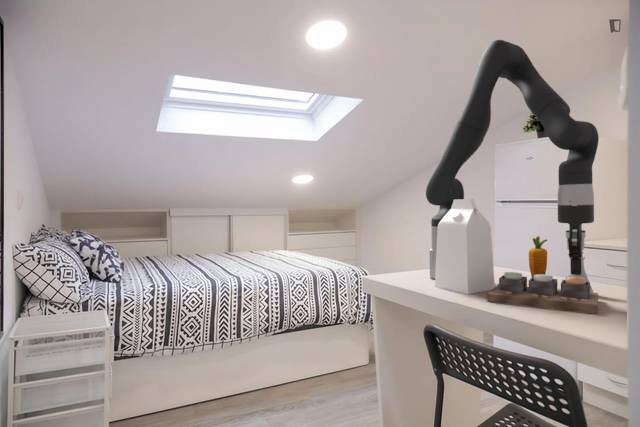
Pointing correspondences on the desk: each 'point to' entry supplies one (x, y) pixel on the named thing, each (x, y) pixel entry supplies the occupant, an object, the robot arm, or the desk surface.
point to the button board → (545, 295)
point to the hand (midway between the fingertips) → (576, 274)
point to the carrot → (538, 258)
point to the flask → (582, 273)
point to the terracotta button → (576, 280)
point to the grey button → (543, 278)
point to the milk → (464, 250)
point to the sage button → (513, 275)
